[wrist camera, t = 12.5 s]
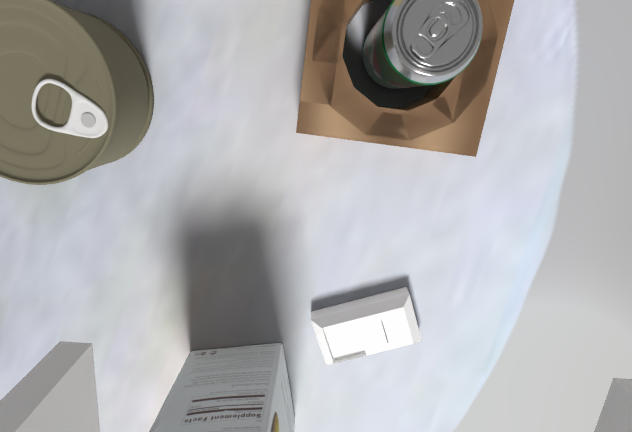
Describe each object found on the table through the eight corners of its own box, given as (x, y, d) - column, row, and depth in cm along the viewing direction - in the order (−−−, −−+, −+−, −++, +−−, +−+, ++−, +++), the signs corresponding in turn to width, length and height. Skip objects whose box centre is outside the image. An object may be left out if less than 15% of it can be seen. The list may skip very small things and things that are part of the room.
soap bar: (417, 330, 38) (424, 346, 36) (326, 352, 39) (326, 370, 37) (405, 284, 37) (411, 298, 35) (311, 309, 38) (310, 324, 35)
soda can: (442, 48, 31) (513, 20, 19) (397, 102, 32) (438, 106, 20) (393, 2, 30) (436, -57, 18) (348, 58, 31) (363, 37, 20)
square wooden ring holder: (299, 127, 33) (296, 132, 29) (320, -57, 29) (320, -80, 25) (458, 149, 33) (475, 156, 29) (499, -31, 29) (526, -50, 25)
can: (20, -20, 30) (-64, -51, 23) (176, 49, 31) (137, 37, 25) (-8, 132, 33) (-89, 142, 27) (133, 189, 35) (89, 211, 28)
